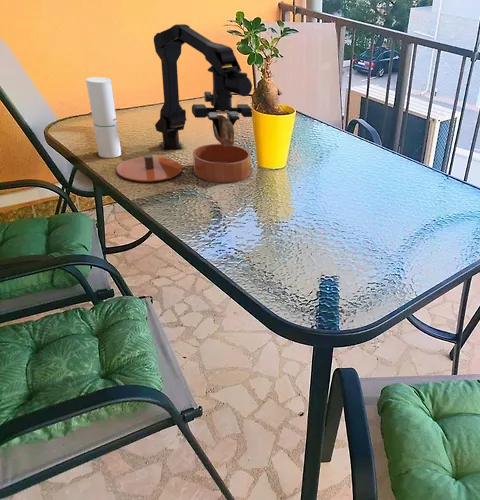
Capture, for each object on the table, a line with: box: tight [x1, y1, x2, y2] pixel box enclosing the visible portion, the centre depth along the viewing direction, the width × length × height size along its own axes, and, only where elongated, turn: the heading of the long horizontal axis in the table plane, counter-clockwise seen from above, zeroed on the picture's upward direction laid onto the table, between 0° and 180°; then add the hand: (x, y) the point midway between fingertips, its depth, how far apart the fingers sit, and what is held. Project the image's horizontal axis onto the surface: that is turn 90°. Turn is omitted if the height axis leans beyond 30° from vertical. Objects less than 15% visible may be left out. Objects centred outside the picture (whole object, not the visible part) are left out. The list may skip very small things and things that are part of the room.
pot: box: [192, 143, 252, 183], centre depth 159 cm, size 19×19×6 cm
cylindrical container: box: [85, 76, 122, 159], centre depth 155 cm, size 7×7×25 cm
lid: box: [116, 154, 182, 182], centre depth 152 cm, size 20×20×5 cm
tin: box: [212, 114, 235, 147], centre depth 155 cm, size 15×3×8 cm, turn 32°
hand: (223, 136), depth 157 cm, fingers closed on tin, 3 cm apart
